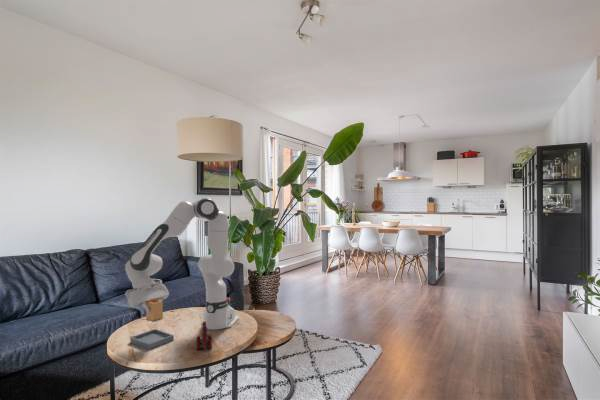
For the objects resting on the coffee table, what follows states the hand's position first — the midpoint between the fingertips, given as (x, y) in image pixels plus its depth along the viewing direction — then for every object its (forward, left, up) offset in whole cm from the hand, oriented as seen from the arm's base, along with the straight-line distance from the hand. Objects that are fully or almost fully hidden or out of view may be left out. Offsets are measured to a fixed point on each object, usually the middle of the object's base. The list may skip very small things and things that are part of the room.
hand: (155, 309), depth 171 cm
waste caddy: (0, -1, -5) cm, 5 cm away
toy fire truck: (-4, +26, -17) cm, 31 cm away
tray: (-1, -3, -17) cm, 17 cm away
